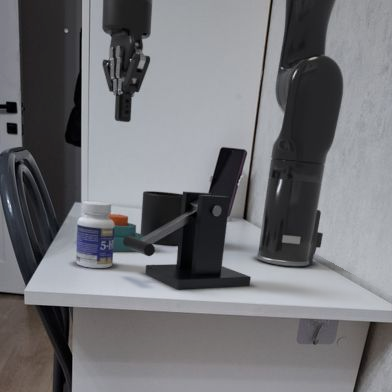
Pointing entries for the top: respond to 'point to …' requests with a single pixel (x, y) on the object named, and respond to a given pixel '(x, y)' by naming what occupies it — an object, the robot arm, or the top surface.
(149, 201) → the mug
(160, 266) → the bracket
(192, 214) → the lever
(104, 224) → the pill bottle
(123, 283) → the top surface
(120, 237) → the button box
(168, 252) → the top surface
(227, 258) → the top surface
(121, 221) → the button
